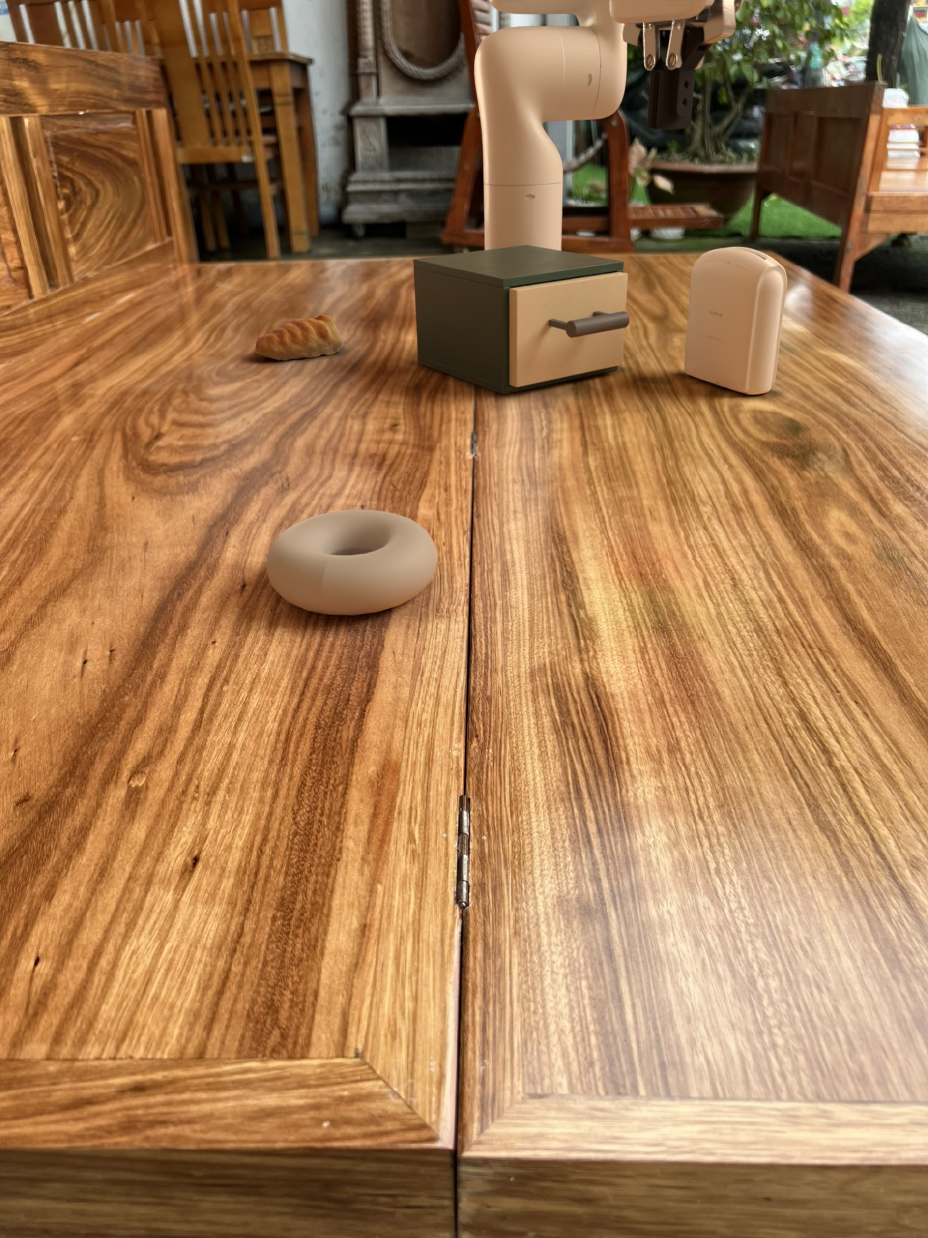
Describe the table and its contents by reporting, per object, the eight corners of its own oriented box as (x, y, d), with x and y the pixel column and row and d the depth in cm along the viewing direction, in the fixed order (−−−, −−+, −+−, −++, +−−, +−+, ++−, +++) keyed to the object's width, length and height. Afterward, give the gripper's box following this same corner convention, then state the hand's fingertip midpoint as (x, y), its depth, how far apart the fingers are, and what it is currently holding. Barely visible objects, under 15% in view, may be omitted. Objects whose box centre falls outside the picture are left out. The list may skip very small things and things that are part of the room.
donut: (433, 548, 61) (276, 553, 61) (432, 497, 60) (271, 503, 59) (444, 623, 53) (260, 631, 52) (443, 566, 51) (253, 574, 50)
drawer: (652, 373, 94) (659, 278, 89) (544, 397, 87) (546, 296, 83) (535, 339, 107) (536, 256, 103) (434, 358, 101) (430, 270, 97)
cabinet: (618, 369, 98) (623, 261, 93) (503, 394, 91) (502, 278, 86) (526, 342, 110) (526, 244, 105) (417, 363, 103) (412, 258, 98)
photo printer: (676, 374, 96) (687, 243, 90) (710, 368, 98) (723, 239, 92) (744, 399, 88) (761, 257, 82) (780, 392, 90) (799, 252, 84)
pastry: (274, 366, 103) (269, 330, 101) (245, 356, 108) (240, 321, 106) (348, 351, 108) (345, 317, 106) (317, 342, 113) (313, 309, 111)
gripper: (579, -154, 70) (570, 128, 79) (736, -201, 59) (705, 133, 68) (654, -145, 73) (638, 124, 82) (815, -187, 63) (776, 128, 72)
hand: (668, 127), depth 75 cm, fingers closed
